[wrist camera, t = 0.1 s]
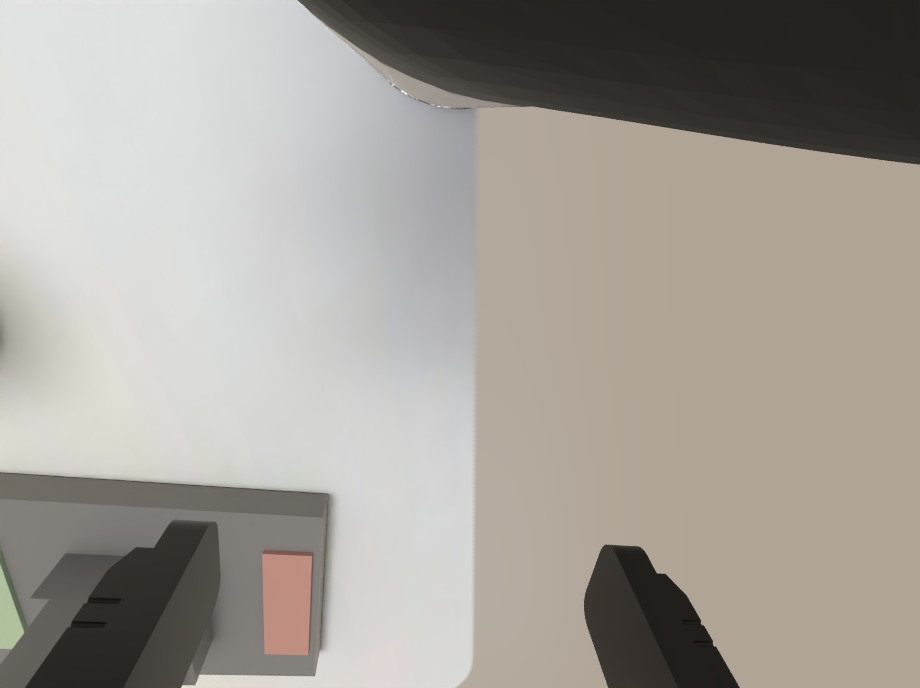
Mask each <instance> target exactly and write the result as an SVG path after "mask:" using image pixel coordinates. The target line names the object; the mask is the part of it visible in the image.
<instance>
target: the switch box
mask: <svg viewBox="0 0 920 688" xmlns="http://www.w3.org/2000/svg"><path fill="white" fill-rule="evenodd" d="M327 507H328V494H317V493H302V492H286V491H271V490H255V489H240V488H225V487H209V486H194V485H178V484H163V483H148V482H132V481H117V480H101V479H86V478H71V477H55V476H40V475H24V474H9V473H0V688H25V687H26V685H27V684H28V683H29V681H30V680H31V678H32V677H33V675H34V674H35V673H36V671H37V670H38V668H39V667H40V665H41V664H42V663H43V661H44V660H45V658H46V657H47V655H48V654H49V653H50V651H51V650H52V648H53V647H54V646H55V644H56V643H57V641H58V640H59V638H60V637H61V636H62V634H63V633H64V631H65V630H66V628H67V627H70V626H71V623H72V620H73V618H74V617H75V616H76V614H77V613H78V611H79V610H80V609H81V607H82V606H83V604H84V603H87V601H88V597H89V596H90V594H91V593H92V591H93V590H94V589H95V587H96V586H97V584H98V583H99V581H100V580H101V579H102V577H103V576H104V574H105V573H106V572H107V570H108V569H109V568H111V567H112V566H113V565H114V564H116V563H117V562H118V561H119V560H121V559H122V558H123V557H124V556H126V555H127V554H128V553H129V552H131V551H132V550H133V549H134V548H136V547H144V548H154V547H155V545H156V544H157V542H158V540H159V539H160V537H161V536H162V534H163V532H164V531H165V529H166V528H167V526H168V525H169V524H170V523H171V522H172V521H173V520H175V519H177V520H195V521H213V522H216V523H217V526H218V536H219V554H220V572H221V580H220V588H219V593H218V598H217V601H216V605H215V608H214V611H213V613H212V615H211V618H210V620H209V623H208V625H207V627H206V630H205V632H204V634H203V637H202V639H201V641H200V644H199V646H198V649H197V651H196V653H195V656H194V658H193V660H192V663H191V665H190V667H189V670H188V672H187V674H186V677H185V679H184V682H183V684H182V685H195V684H196V682H197V679H198V676H199V674H205V675H270V676H315V673H316V668H317V662H318V657H319V651H320V638H321V619H322V600H323V582H324V563H325V544H326V526H327Z"/></svg>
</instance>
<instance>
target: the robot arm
mask: <svg viewBox="0 0 920 688" xmlns="http://www.w3.org/2000/svg"><path fill="white" fill-rule="evenodd" d="M298 1H299V2H300V3H301V4H303V5H304V6H305V7H306V8H307V9H308V10H309V11H310V12H311V13H312V14H313V15H314V16H315V17H316V18H317V19H319V20H320V21H321V22H322V23H323V24H324V25H325V26H327V27H328V28H329V29H330V30H331V31H332V32H333V33H335V34H336V35H337V36H338V37H339V38H340V39H341V40H343V41H344V42H345V43H346V44H348V45H349V46H350V47H351V48H352V49H353V50H355V51H356V52H357V53H358V54H359V55H360V56H361V57H363V58H364V59H365V60H366V61H367V62H368V63H369V64H370V65H372V66H373V67H374V68H375V69H376V70H377V71H378V72H379V73H381V74H382V75H383V76H384V77H385V78H386V79H387V80H389V81H390V84H392V85H393V86H394V87H395V88H397V89H398V90H400V91H401V92H403V93H405V94H406V95H407V94H409V95H408V96H410V97H414V99H416V100H419V101H421V102H424V103H426V104H429V105H433V104H434V105H435V106H437V107H443V108H450V109H454V108H455V109H466V108H478V107H527V106H534V107H540V108H547V109H553V110H559V111H565V112H572V113H579V114H585V115H592V116H598V117H605V118H611V119H617V120H623V121H629V122H636V123H642V124H648V125H655V126H661V127H667V128H673V129H679V130H685V131H691V132H697V133H704V134H710V135H716V136H723V137H729V138H735V139H741V140H748V141H754V142H760V143H767V144H774V145H780V146H787V147H794V148H801V149H807V150H813V151H821V152H828V153H835V154H842V155H850V156H858V157H864V158H872V159H879V160H887V161H895V162H903V163H911V164H920V0H298ZM220 580H221V572H220V554H219V536H218V526H217V523H216V522H213V521H195V520H177V519H175V520H173V521H172V522H171V523H170V524H169V525H168V526H167V528H166V529H165V531H164V532H163V534H162V536H161V537H160V539H159V540H158V542H157V544H156V545H155V547H154V548H144V547H136V548H134V549H133V550H132V551H131V552H129V553H128V554H127V555H126V556H124V557H123V558H122V559H121V560H119V561H118V562H117V563H116V564H114V565H113V566H112V567H111V568H109V569H108V570H107V572H106V573H105V574H104V576H103V577H102V579H101V580H100V581H99V583H98V584H97V586H96V587H95V589H94V590H93V591H92V593H91V594H90V596H89V597H88V601H87V603H84V604H83V606H82V607H81V609H80V610H79V611H78V613H77V614H76V616H75V617H74V618H73V620H72V623H71V626H70V627H67V628H66V630H65V631H64V633H63V634H62V636H61V637H60V638H59V640H58V641H57V643H56V644H55V646H54V647H53V648H52V650H51V651H50V653H49V654H48V655H47V657H46V658H45V660H44V661H43V663H42V664H41V665H40V667H39V668H38V670H37V671H36V673H35V674H34V675H33V677H32V678H31V680H30V681H29V683H28V684H27V685H26V687H25V688H181V686H182V684H183V682H184V679H185V677H186V674H187V672H188V670H189V667H190V665H191V663H192V660H193V658H194V656H195V653H196V651H197V649H198V646H199V644H200V641H201V639H202V637H203V634H204V632H205V630H206V627H207V625H208V623H209V620H210V618H211V615H212V613H213V611H214V608H215V605H216V601H217V598H218V593H219V588H220ZM584 612H585V619H586V623H587V627H588V630H589V632H590V636H591V639H592V641H593V644H594V647H595V650H596V653H597V656H598V659H599V662H600V665H601V668H602V671H603V674H604V677H605V679H606V682H607V685H608V688H740V687H739V686H738V684H737V683H736V680H735V679H734V677H733V675H732V673H731V672H730V670H729V668H728V667H727V665H726V663H725V661H724V660H723V658H722V656H721V655H720V653H719V651H718V649H717V648H716V647H714V646H713V640H712V639H711V637H710V635H709V634H708V632H707V630H706V628H705V627H704V626H703V625H701V620H700V618H699V616H698V614H697V613H696V611H695V609H694V608H693V606H692V604H691V602H690V601H689V599H688V597H687V595H686V594H685V593H684V592H683V591H682V590H680V588H679V587H678V586H677V585H676V584H674V582H673V581H672V580H671V579H670V578H669V577H668V576H667V575H666V574H657V573H656V571H655V569H654V567H653V565H652V564H651V562H650V560H649V558H648V556H647V554H646V553H645V551H644V550H643V549H642V548H641V547H638V546H618V545H604V546H603V547H602V549H601V551H600V554H599V557H598V559H597V562H596V565H595V568H594V570H593V573H592V576H591V579H590V582H589V585H588V587H587V590H586V593H585V599H584Z"/></svg>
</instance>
